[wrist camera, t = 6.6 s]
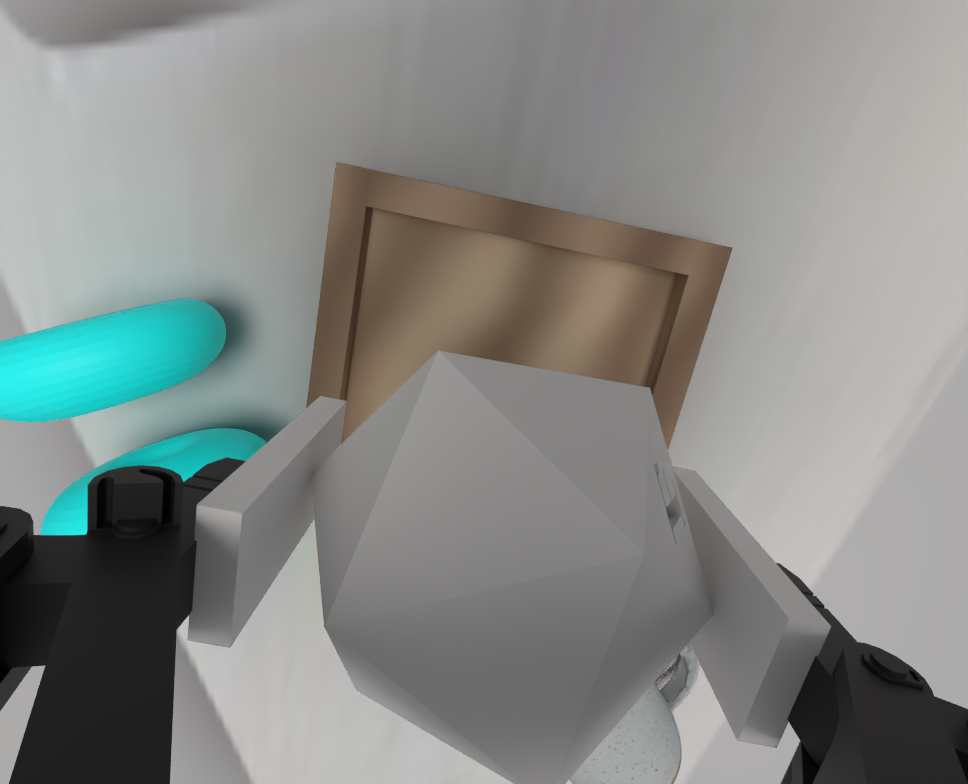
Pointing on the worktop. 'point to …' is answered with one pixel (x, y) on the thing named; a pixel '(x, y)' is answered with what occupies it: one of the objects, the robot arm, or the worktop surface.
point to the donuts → (118, 387)
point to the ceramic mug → (644, 736)
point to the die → (507, 560)
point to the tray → (501, 293)
